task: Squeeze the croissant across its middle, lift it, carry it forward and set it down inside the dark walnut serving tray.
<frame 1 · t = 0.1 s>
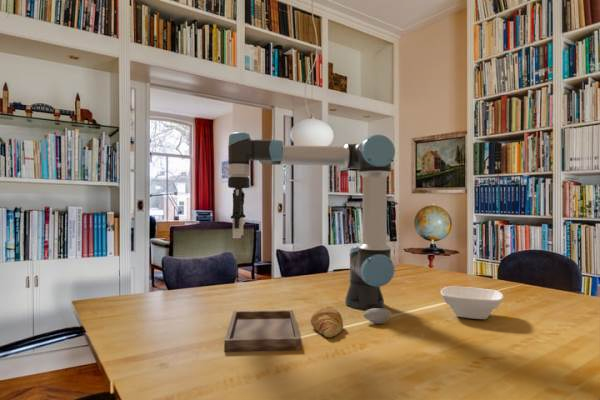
hand: (238, 236, 140), 28 cm above the table, fingers open, 13 cm apart
stone: (377, 323, 132), on the table
bowl: (471, 317, 141), on the table
tray: (263, 333, 120), on the table
croissant: (326, 330, 125), on the table
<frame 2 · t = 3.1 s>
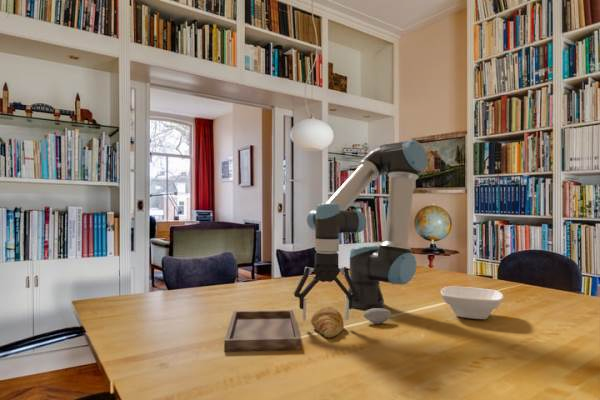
hand: (325, 319, 125), 3 cm above the table, fingers open, 13 cm apart
nothing on the table moved.
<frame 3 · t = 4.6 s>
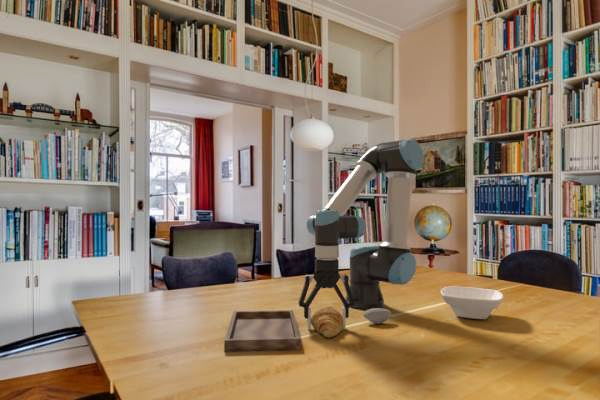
hand: (326, 328, 125), 0 cm above the table, fingers open, 10 cm apart
croissant: (326, 330, 125), on the table, touching gripper
everything else where it was.
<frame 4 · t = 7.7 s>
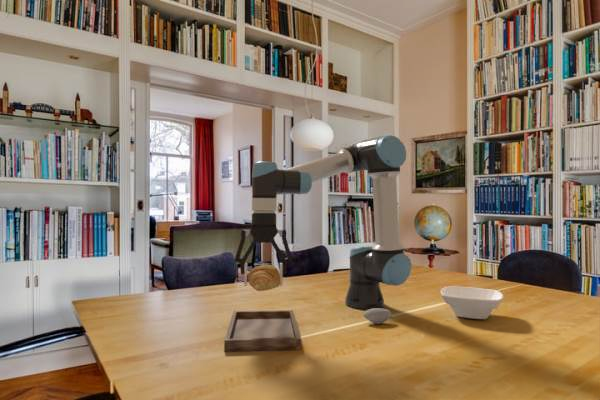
hand: (263, 284, 121), 15 cm above the table, fingers closed on croissant, 10 cm apart
croissant: (263, 287, 120), point 14 cm above the table, touching gripper
everything else where it was.
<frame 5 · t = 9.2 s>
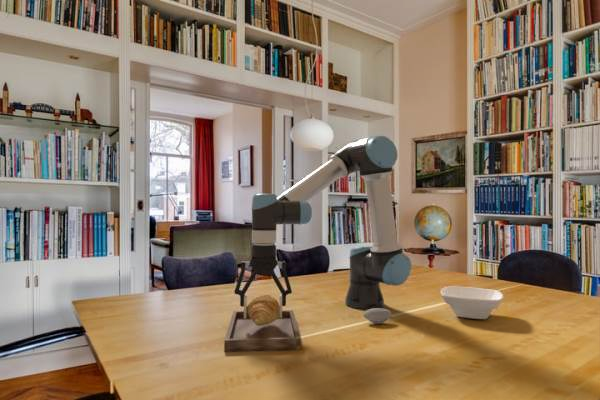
hand: (263, 316, 120), 5 cm above the table, fingers closed on croissant, 10 cm apart
croissant: (262, 319, 120), point 4 cm above the table, touching gripper
everything else where it was.
when the fingers open (3 cm above the table, at t = 10.6 s): croissant drops 2 cm, resting on tray.
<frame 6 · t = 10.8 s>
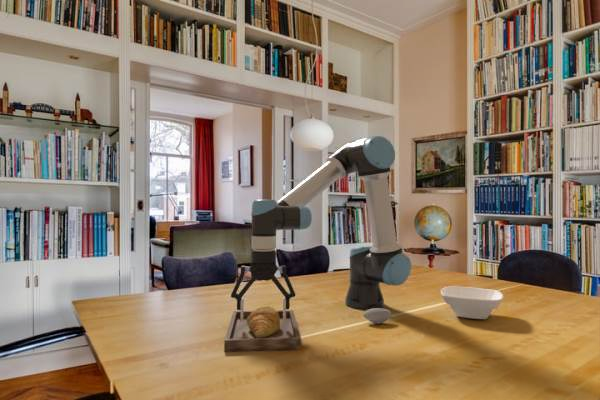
hand: (263, 320, 120), 4 cm above the table, fingers open, 12 cm apart
croissant: (263, 330, 120), point 1 cm above the table, touching tray
everything else where it was.
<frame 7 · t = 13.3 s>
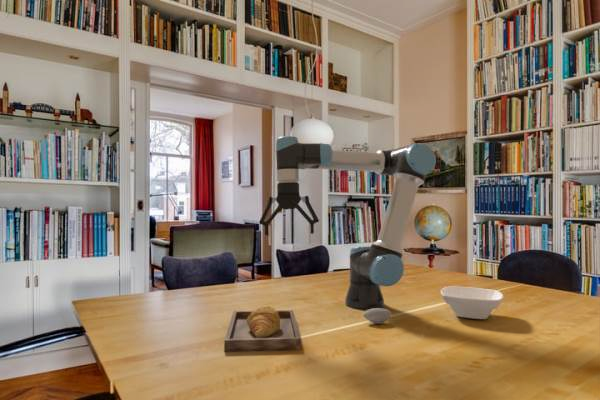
hand: (289, 244, 135), 26 cm above the table, fingers open, 13 cm apart
nothing on the table moved.
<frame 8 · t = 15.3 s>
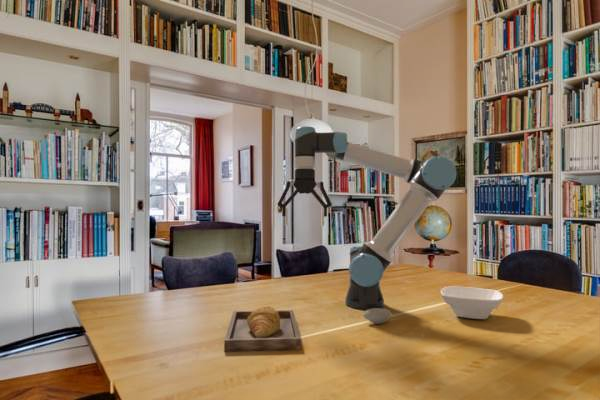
hand: (304, 225, 147), 32 cm above the table, fingers open, 13 cm apart
nothing on the table moved.
at the end: croissant inside the target area on the tray (0.2 cm from its centre), point 0.8 cm above the tray's base; the gripper is holding nothing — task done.
